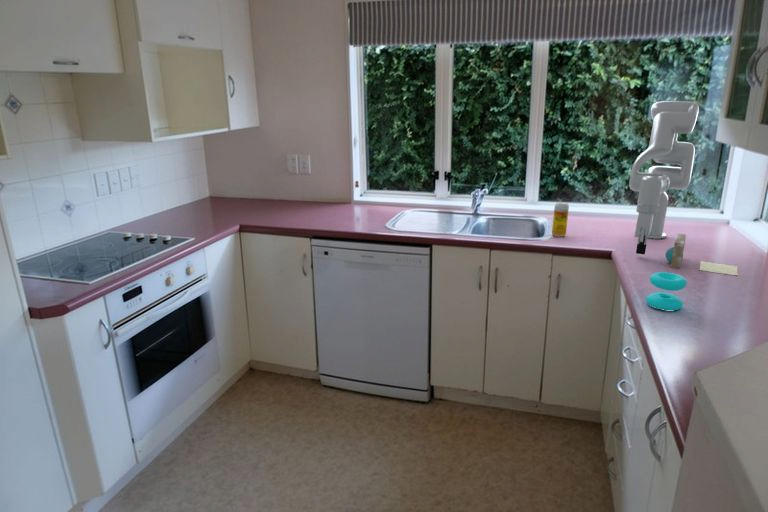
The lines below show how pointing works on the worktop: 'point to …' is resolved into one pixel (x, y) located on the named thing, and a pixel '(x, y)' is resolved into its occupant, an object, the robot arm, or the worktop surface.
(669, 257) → the ball
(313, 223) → the worktop surface
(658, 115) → the robot arm
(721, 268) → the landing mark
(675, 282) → the donuts
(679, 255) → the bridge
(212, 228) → the worktop surface
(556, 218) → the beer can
